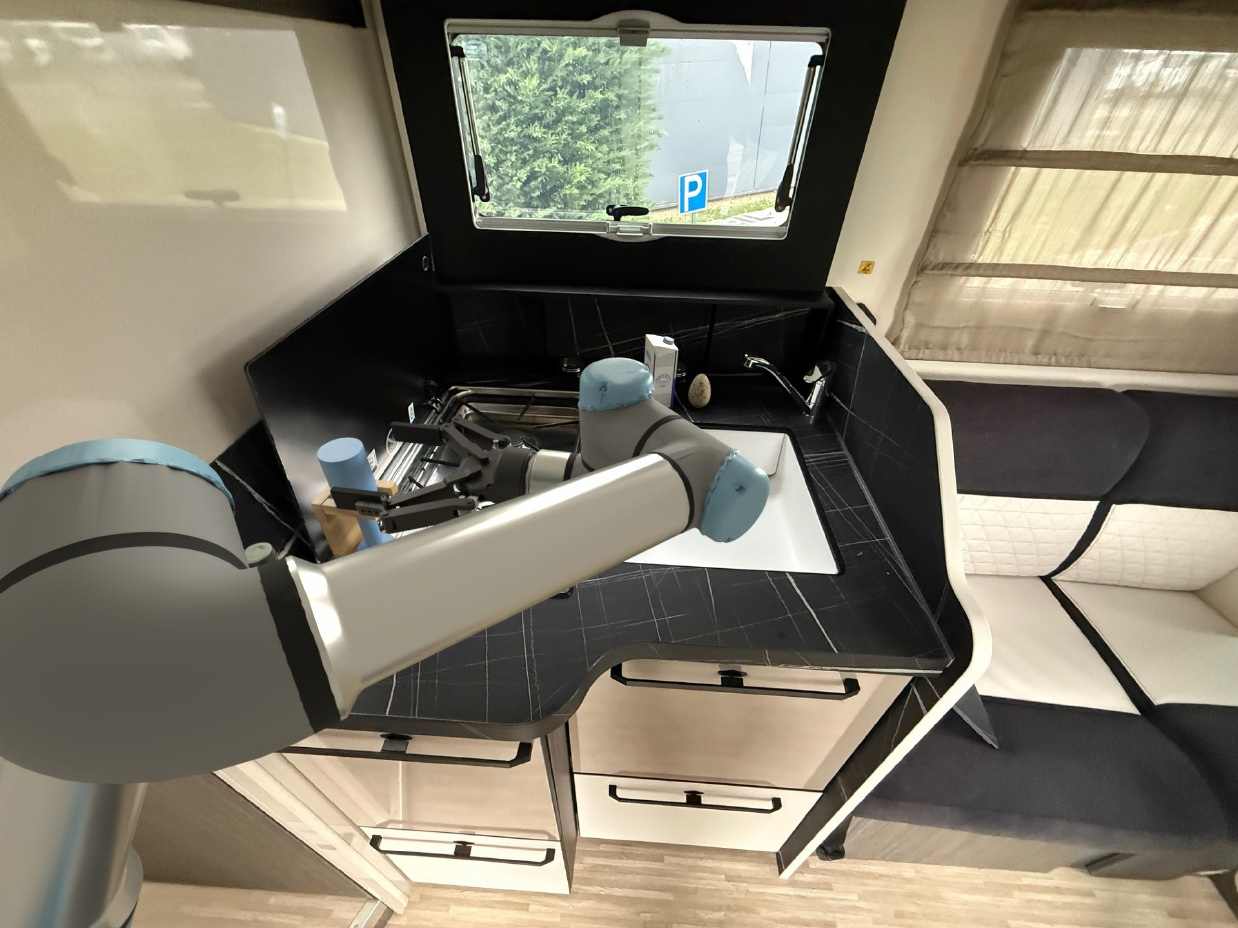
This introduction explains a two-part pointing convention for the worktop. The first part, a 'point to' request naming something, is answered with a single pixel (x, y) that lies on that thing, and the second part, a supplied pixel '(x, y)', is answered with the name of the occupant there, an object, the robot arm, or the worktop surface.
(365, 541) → the peg
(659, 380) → the milk carton
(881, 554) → the worktop surface
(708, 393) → the decorative egg
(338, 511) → the stand
